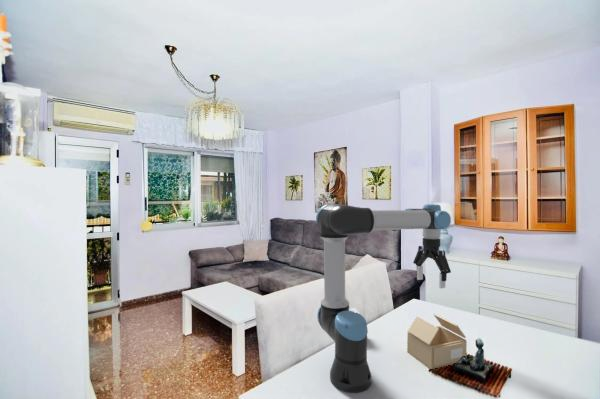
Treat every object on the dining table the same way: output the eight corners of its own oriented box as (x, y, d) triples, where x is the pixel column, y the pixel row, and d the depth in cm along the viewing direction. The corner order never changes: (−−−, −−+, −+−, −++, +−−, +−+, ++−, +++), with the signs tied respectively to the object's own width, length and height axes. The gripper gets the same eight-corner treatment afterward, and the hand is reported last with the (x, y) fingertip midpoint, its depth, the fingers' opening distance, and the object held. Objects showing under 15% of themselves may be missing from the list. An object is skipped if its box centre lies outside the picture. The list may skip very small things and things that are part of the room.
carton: (433, 371, 116) (433, 348, 116) (406, 351, 131) (406, 331, 131) (467, 363, 122) (468, 341, 122) (438, 344, 137) (438, 325, 137)
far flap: (465, 338, 124) (456, 326, 122) (441, 325, 136) (433, 314, 134) (465, 337, 124) (457, 325, 122) (442, 324, 136) (434, 313, 134)
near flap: (428, 344, 118) (438, 328, 119) (407, 331, 129) (416, 316, 131) (429, 345, 118) (439, 329, 119) (408, 331, 130) (417, 317, 131)
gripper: (460, 241, 128) (459, 290, 128) (418, 234, 151) (417, 275, 151) (447, 242, 125) (446, 292, 125) (406, 234, 148) (405, 277, 149)
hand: (430, 283), depth 138 cm, fingers open, 13 cm apart
